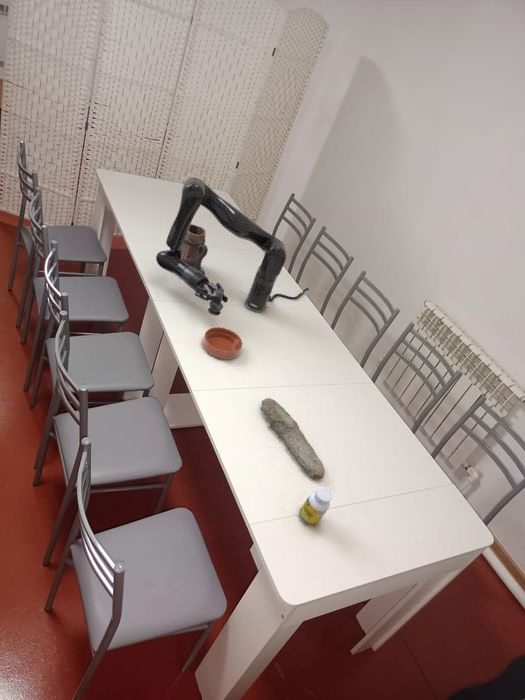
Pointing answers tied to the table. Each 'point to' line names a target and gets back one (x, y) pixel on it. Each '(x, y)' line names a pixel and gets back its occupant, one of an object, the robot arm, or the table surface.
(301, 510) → the pill bottle
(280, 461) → the table surface
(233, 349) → the bowl
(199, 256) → the tankard
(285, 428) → the long grey stone
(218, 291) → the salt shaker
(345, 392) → the table surface
